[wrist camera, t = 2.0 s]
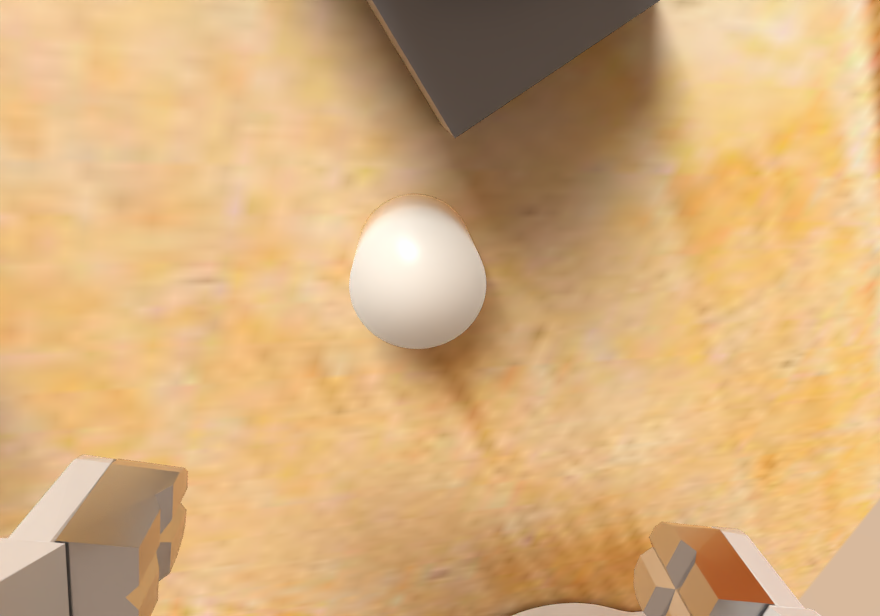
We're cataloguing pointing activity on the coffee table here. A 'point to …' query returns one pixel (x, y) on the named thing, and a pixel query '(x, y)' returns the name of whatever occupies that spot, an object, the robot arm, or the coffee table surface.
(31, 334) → the coffee table surface
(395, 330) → the white egg
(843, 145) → the coffee table surface
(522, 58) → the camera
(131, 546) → the robot arm
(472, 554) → the coffee table surface
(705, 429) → the coffee table surface
